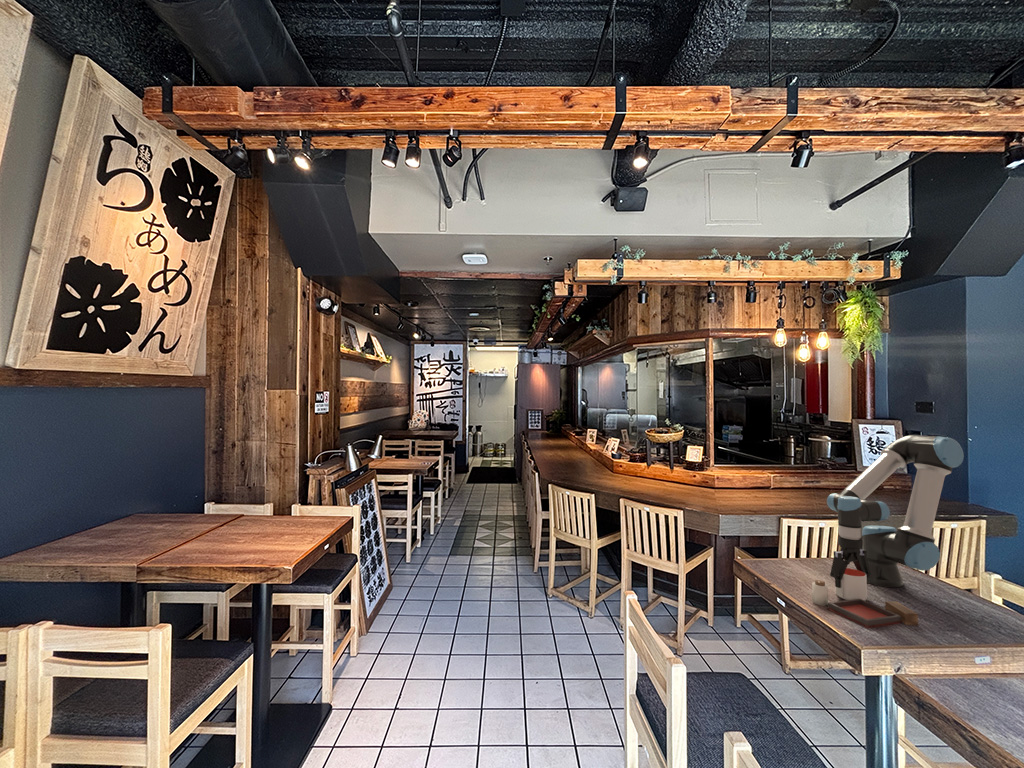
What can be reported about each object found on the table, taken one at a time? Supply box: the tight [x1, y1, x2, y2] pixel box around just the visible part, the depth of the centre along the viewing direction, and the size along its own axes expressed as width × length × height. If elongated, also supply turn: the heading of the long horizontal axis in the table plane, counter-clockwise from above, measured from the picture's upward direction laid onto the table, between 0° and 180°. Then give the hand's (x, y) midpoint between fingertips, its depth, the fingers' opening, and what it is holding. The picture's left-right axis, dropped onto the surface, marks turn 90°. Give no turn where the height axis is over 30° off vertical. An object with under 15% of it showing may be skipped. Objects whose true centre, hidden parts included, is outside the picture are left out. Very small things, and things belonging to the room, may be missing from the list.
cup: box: [834, 567, 868, 601], centre depth 184 cm, size 10×10×10 cm
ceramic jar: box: [811, 579, 829, 607], centre depth 179 cm, size 5×5×8 cm
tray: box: [827, 599, 902, 629], centre depth 169 cm, size 15×15×2 cm
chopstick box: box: [884, 600, 919, 626], centre depth 167 cm, size 4×10×4 cm, turn 175°
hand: (850, 594), depth 184 cm, fingers closed on cup, 10 cm apart
